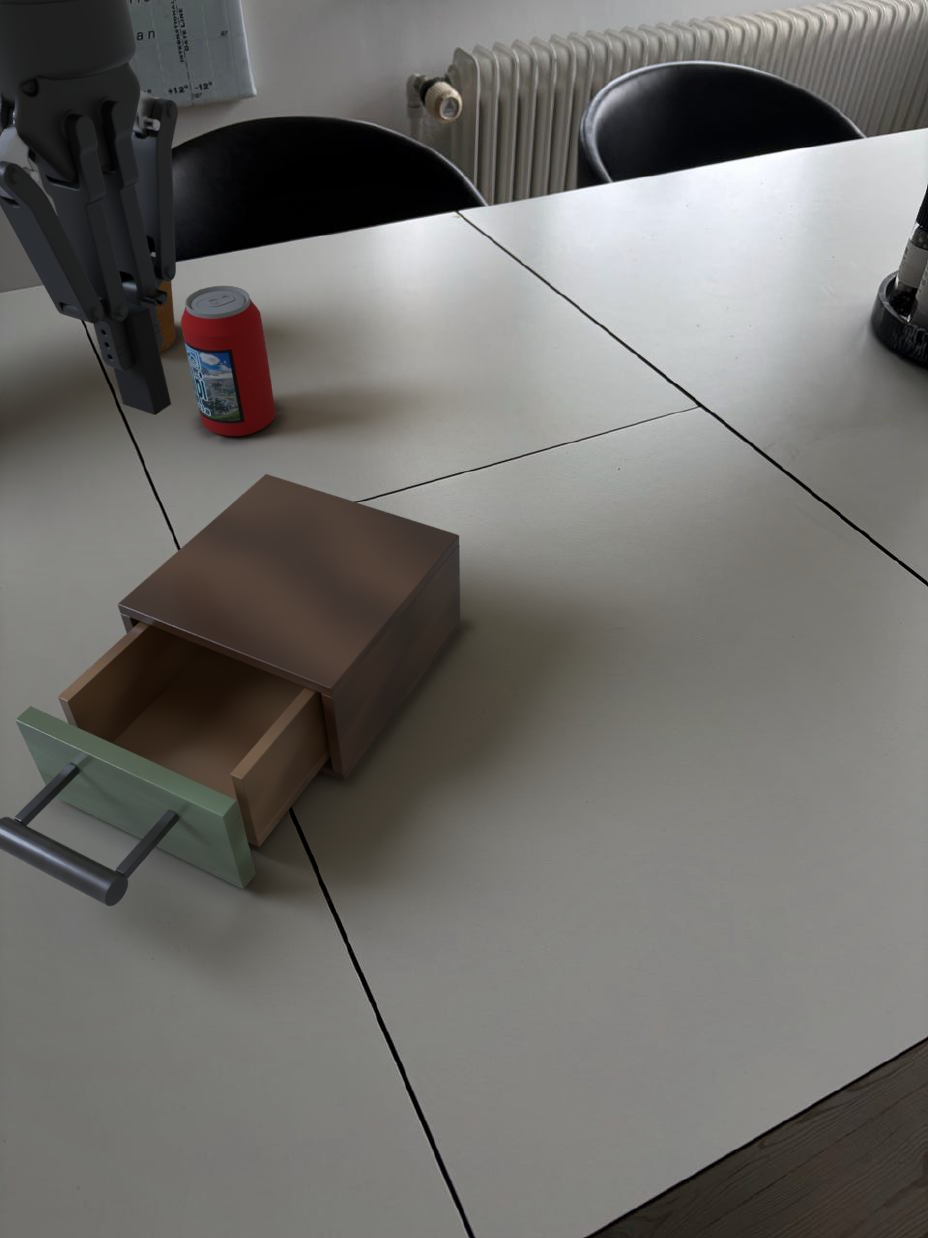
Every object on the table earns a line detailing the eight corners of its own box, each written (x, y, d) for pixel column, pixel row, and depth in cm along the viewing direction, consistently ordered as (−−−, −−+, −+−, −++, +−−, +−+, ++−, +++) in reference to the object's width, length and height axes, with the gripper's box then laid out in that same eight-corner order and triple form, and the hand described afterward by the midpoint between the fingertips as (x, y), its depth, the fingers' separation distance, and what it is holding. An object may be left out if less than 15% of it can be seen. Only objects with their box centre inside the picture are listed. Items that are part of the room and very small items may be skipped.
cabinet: (344, 783, 62) (331, 688, 56) (147, 698, 67) (116, 603, 62) (460, 628, 72) (459, 534, 66) (281, 565, 78) (265, 473, 72)
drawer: (176, 978, 52) (147, 907, 47) (-26, 868, 57) (-70, 795, 52) (378, 715, 65) (370, 639, 60) (200, 644, 70) (181, 569, 65)
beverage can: (189, 420, 93) (162, 297, 85) (252, 395, 96) (232, 274, 88) (226, 451, 89) (201, 325, 81) (291, 425, 92) (273, 301, 84)
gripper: (-13, 9, 43) (119, 472, 59) (190, -46, 51) (257, 373, 67) (-131, -10, 45) (27, 437, 61) (80, -59, 53) (170, 346, 70)
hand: (147, 403), depth 64 cm, fingers closed
